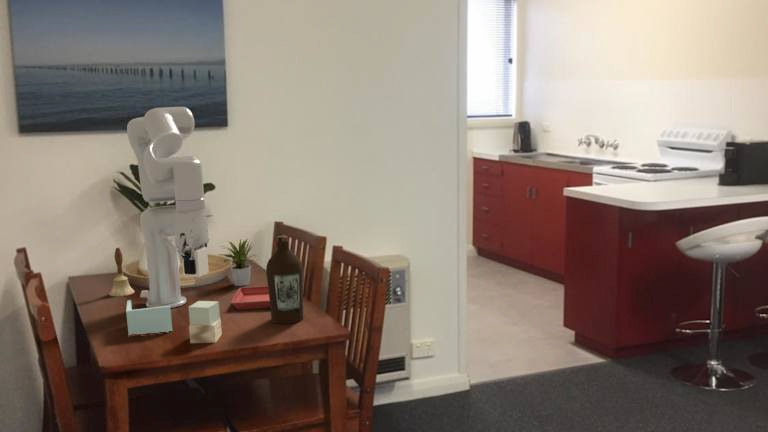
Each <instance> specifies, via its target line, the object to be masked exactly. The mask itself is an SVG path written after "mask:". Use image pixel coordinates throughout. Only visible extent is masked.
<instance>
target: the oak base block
mask: <svg viewBox="0 0 768 432" xmlns="http://www.w3.org/2000/svg"><path fill="white" fill-rule="evenodd" d="M188 331H189V333H188V334H189V344H205V343H206V344H211V343H212V344H213V343H214V344H215V343H216V342H217V341H218V340H219V339H220V337H221V336H222V335H223V334H222V333H223V332H222V321H221V317H220V319H219V320H217V321H216V322H214V323H213V324H212V325H190V324H189V325H188Z"/></svg>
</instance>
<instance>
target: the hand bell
mask: <svg viewBox="0 0 768 432" xmlns="http://www.w3.org/2000/svg"><path fill="white" fill-rule="evenodd" d="M123 259H124V257H123V252H122V250H121V248H120V247H116V248H115V252H114V261H115V264H116V267H117V268H116V270H117V276H116V277H115V278H114V279H113V287H112V288H111V291H110V292H109V293H108V295H109V296H110V297H125V296H130V295H133V294H135V292H136V291H135V290H134V289H133V288H132V287H131V285H130V283H129V280H128V279H129V278H128V277H127V276H125V275H124V271H123V262H124V260H123Z"/></svg>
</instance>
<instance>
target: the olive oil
mask: <svg viewBox="0 0 768 432" xmlns="http://www.w3.org/2000/svg"><path fill="white" fill-rule="evenodd" d="M276 240H277V241H276V245H277V246H276V247H277V250H275V252H274V253H273V254H272V255H271V257H270V258H269V259H268V261H267V263H266V266H265V267H266V269H265V271H266V273H265V274H266V281H267V286H268V291H269V299H270V308H269V309H270V316H271V317H270V318H271V322H273V324H274V323H275V324H278V325H279V324H280V325H288V324H290V325H291V324H296V323H299V322H301V321H302V320H304V292H303V291H304V282H303V281H304V269H303V263H302V261H301V259H300V258H299V257H298V256H297V255H296V254H295V253H294V252H293V251H292V250H291V249H290V245H289V244H290V243H289V242H290V241H289V236H288V235H277V236H276Z"/></svg>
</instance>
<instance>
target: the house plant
mask: <svg viewBox="0 0 768 432" xmlns="http://www.w3.org/2000/svg"><path fill="white" fill-rule="evenodd" d="M248 240H249V237H248V238H245V240H243V242H242V239H240V240H239V244H238V248H237V246H236V245H235V243H233V242H231V241H228V240H226V242H227V243H229V245H230V246H231V248H230V247H228V246H227V247H226V246H224V245H221V248H225V249H227V251H228V253H227V254H225V253H218V254H217V255H218V256H224V257H220V258H224V259H223V260H222V263H226V262H228V261H229V262H232V263H233V265H232V266H230V273H231V276H232V281H233V285H234V286H236V287H244V286H248V285H249V284H250V277H251V267H252V266H251V265H250V264H247V262H248V260H249V259H250V258H251V257H253V256H254V257H255V256H256V254H254V255H253V254H252V255H251V256H248V254H249V252H250V251H252V248H253V247H254V245H252V242H251V243H250V241H248ZM249 244H250V245H249ZM251 245H252V246H251ZM229 258H230V259H229Z"/></svg>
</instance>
